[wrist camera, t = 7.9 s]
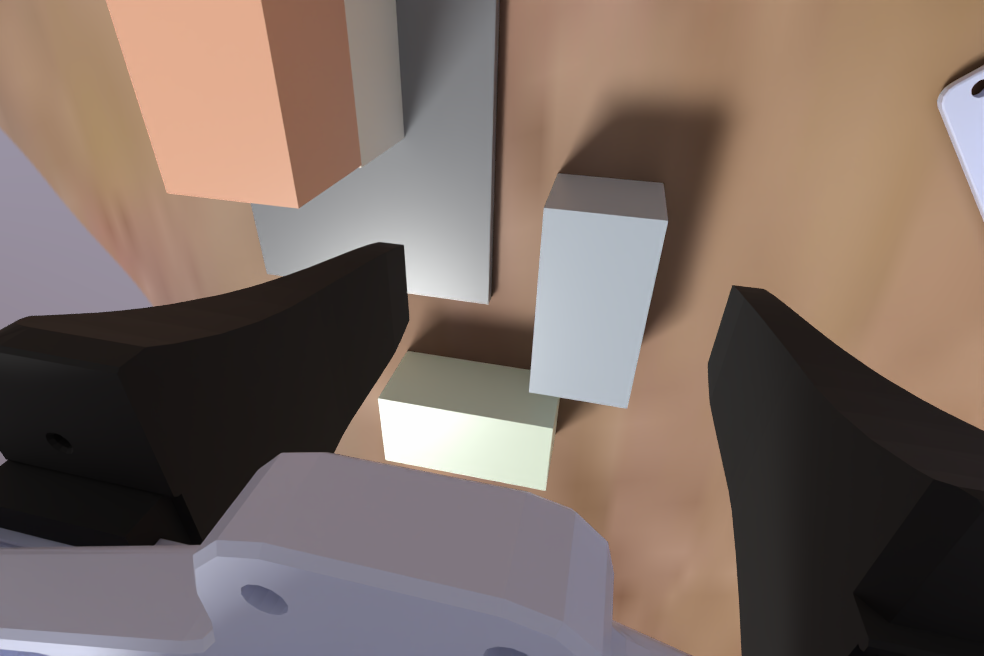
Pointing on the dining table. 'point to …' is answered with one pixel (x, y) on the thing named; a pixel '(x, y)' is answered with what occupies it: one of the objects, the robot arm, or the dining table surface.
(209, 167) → the terracotta brick
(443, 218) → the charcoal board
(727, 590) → the dining table surface
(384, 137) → the cream brick
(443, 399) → the sage brick
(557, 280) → the slate brick
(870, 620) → the robot arm
